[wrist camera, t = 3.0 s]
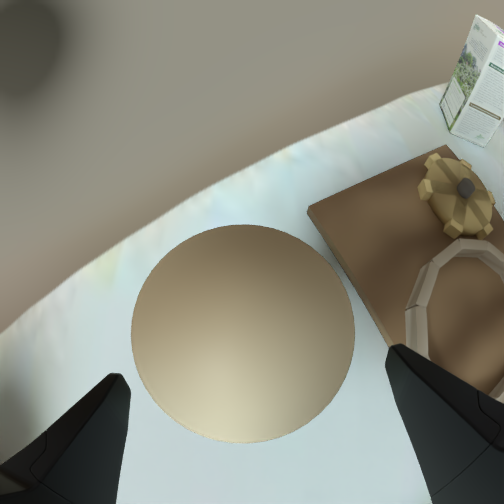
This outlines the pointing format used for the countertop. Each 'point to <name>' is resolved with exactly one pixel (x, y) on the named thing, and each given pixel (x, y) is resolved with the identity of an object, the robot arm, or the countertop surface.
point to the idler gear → (243, 333)
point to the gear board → (426, 262)
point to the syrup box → (477, 85)
